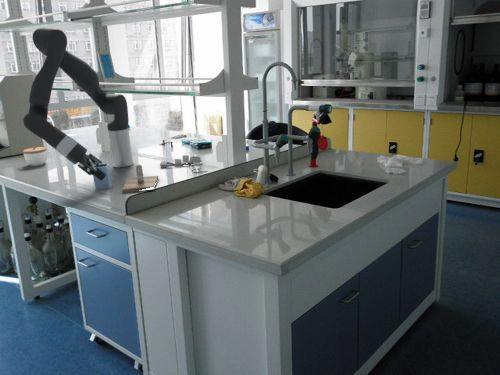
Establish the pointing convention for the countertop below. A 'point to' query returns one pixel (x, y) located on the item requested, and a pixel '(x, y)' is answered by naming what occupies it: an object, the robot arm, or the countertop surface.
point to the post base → (139, 186)
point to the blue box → (107, 180)
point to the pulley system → (192, 160)
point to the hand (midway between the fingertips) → (105, 175)
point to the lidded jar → (35, 155)
